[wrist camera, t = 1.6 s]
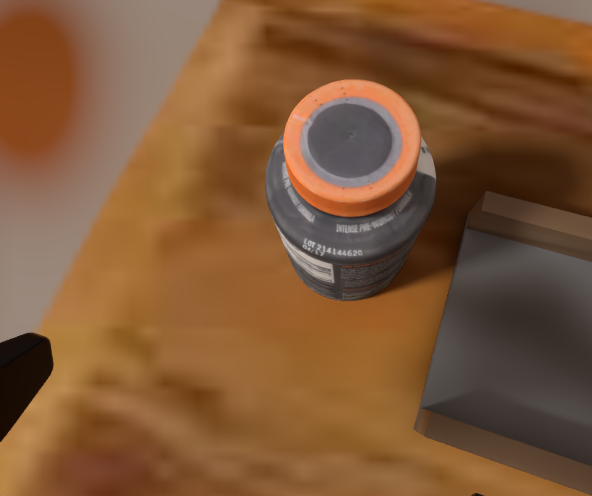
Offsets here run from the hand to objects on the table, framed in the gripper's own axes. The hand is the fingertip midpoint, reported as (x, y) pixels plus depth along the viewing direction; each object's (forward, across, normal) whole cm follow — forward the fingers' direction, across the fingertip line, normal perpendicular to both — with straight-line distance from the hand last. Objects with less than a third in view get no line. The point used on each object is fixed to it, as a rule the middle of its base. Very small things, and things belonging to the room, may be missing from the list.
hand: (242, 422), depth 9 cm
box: (+14, -11, +5) cm, 18 cm away
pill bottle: (+15, 0, +4) cm, 16 cm away
